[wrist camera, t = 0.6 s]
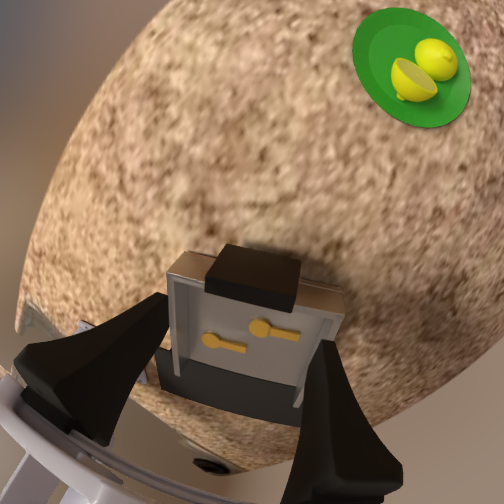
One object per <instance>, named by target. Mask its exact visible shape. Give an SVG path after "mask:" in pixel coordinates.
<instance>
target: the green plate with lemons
mask: <svg viewBox="0 0 504 504" xmlns="http://www.w3.org/2000/svg"><path fill="white" fill-rule="evenodd" d="M352 52H353V61H354V65H355V68H356V72H357V75H358V77H359V79H360V81H361V83H362V85H363V87H364V88H365V90H366V91H367V92H368V94H369V95H370V96H371V98H372V99H373V100H374V101H375V102H376V103H377V104H378V105H379V106H380V107H381V108H382V109H383V110H385V111H386V112H387V113H389V114H390V115H391V116H393V117H395V118H397V119H399V120H400V121H402V122H404V123H408V124H411V125H414V126H419V127H426V128H428V127H438V126H441V125H444V124H447V123H449V122H451V121H452V120H454V119H455V118H456V117H457V116H458V115H459V114H460V113H461V112H462V111H463V109H464V107H465V106H466V104H467V101H468V98H469V95H470V87H471V79H470V71H469V67H468V63H467V60H466V58H465V56H464V53H463V51H462V49H461V48H460V46H459V45H458V43H457V42H456V40H455V39H454V37H453V36H452V35H451V34H450V33H449V32H448V31H447V30H446V29H445V28H444V27H443V26H442V25H440V24H439V23H438V22H437V21H435V20H433V19H432V18H430V17H428V16H427V15H425V14H422V13H420V12H417V11H415V10H411V9H406V8H386V9H382V10H379V11H377V12H374V13H372V14H370V15H369V16H368V17H367V18H366V19H365V20H363V21H362V23H361V24H360V26H359V27H358V29H357V31H356V34H355V37H354V39H353V49H352Z"/></svg>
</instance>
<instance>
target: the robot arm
mask: <svg viewBox="0 0 504 504" xmlns="http://www.w3.org/2000/svg"><path fill="white" fill-rule="evenodd" d="M78 324H79V328H78V329H77V331H76V332H75V333H74V334H73V335H72V336H68V337H65V338H61V339H57V340H52V341H47V342H40V343H33V344H28V345H27V346H26V347H25V348H24V349H23V350H22V351H21V353H20V354H19V355H18V356H17V357H16V358H15V359H14V365H15V367H16V369H17V370H18V372H19V374H20V375H21V377H22V378H23V379H24V381H25V382H26V384H27V387H26V388H25V389H24V387H23V386H22V385H21V384H20V383H19V382H18V381H16V380H15V379H14V378H13V377H12V376H11V375H10V374H9V373H7V374H6V375H5V376H4V377H3V379H2V380H1V381H0V424H1V426H2V427H3V428H4V429H5V430H6V431H7V432H8V433H9V434H10V435H11V436H12V437H13V438H14V439H15V440H16V441H17V442H18V443H19V444H20V445H21V446H22V447H23V448H24V449H25V450H26V454H25V456H24V457H23V459H22V460H21V462H20V464H19V465H18V467H17V468H16V470H15V472H14V473H13V475H12V476H11V478H10V480H9V481H8V483H7V485H6V486H5V488H4V490H3V491H2V493H1V495H0V504H46V503H47V501H48V500H49V498H50V497H51V495H52V493H53V491H54V490H55V488H56V487H57V485H58V483H59V482H60V480H62V481H63V482H64V483H66V484H67V485H68V486H69V488H68V490H67V491H66V493H65V495H64V497H63V498H62V500H61V502H60V504H162V503H160V502H157V501H155V500H152V499H150V498H148V497H145V496H143V495H141V494H139V493H136V492H134V491H132V490H130V489H128V488H126V487H124V486H122V485H123V480H121V479H120V478H118V477H117V476H115V475H114V474H113V473H112V472H111V471H110V470H109V469H107V468H105V467H104V466H102V464H105V465H107V466H109V467H110V468H112V469H115V470H116V471H118V472H120V473H122V474H124V475H126V476H128V477H130V478H132V479H134V480H136V481H138V482H140V483H143V484H145V485H147V486H149V487H151V488H154V489H156V490H159V491H161V492H164V493H166V494H169V495H171V496H174V497H177V498H179V499H182V500H185V501H188V502H191V503H194V504H255V503H249V502H245V501H240V500H236V499H232V498H228V497H224V496H220V495H217V494H213V493H210V492H206V491H203V490H200V489H197V488H194V487H191V486H188V485H185V484H182V483H179V482H177V481H174V480H171V479H169V478H166V477H164V476H161V475H159V474H157V473H154V472H152V471H150V470H147V469H145V468H143V467H141V466H138V465H136V464H134V463H132V462H130V461H128V460H126V459H124V458H122V457H120V456H118V455H116V454H115V453H113V452H111V451H112V448H113V446H114V441H115V438H114V433H113V432H114V429H115V426H116V424H117V421H118V419H119V416H120V414H121V412H122V409H123V407H124V405H125V402H126V401H127V398H128V396H129V394H130V392H131V390H132V388H133V386H134V384H135V382H136V381H137V382H140V383H142V384H145V385H146V384H147V383H148V381H147V378H146V374H145V370H144V368H145V367H146V365H147V364H148V362H149V361H150V359H151V358H152V356H153V355H154V353H155V352H156V350H157V349H158V347H159V346H160V344H161V342H162V341H163V339H164V337H165V335H166V332H167V330H168V328H169V302H168V295H165V294H162V293H159V292H156V293H154V294H153V295H151V296H149V297H148V298H146V299H145V300H143V301H141V302H140V303H138V304H136V305H135V306H133V307H132V308H130V309H128V310H126V311H125V312H123V313H121V314H120V315H118V316H116V317H114V318H112V319H110V320H108V321H107V322H105V323H103V324H100V325H98V326H96V327H94V326H92V325H89V324H87V323H85V322H83V321H81V320H80V321H79V322H78ZM402 485H403V468H402V464H401V463H400V462H399V461H398V460H397V459H396V458H395V457H394V456H393V455H392V454H391V453H390V452H389V450H388V449H387V448H386V447H385V445H384V444H383V443H382V442H381V440H380V439H379V438H378V436H377V434H376V433H375V432H374V430H373V429H372V427H371V426H370V424H369V422H368V421H367V419H366V417H365V416H364V414H363V412H362V410H361V408H360V406H359V404H358V402H357V400H356V398H355V396H354V393H353V391H352V389H351V386H350V384H349V381H348V379H347V376H346V373H345V371H344V368H343V365H342V362H341V359H340V356H339V353H338V349H337V346H336V343H335V341H330V340H326V339H321V341H320V343H319V345H318V347H317V349H316V351H315V353H314V355H313V357H312V359H311V361H310V363H309V365H308V369H307V374H306V380H305V385H304V397H303V409H302V421H301V430H300V436H299V440H298V445H297V449H296V453H295V457H294V461H293V465H292V469H291V472H290V476H289V479H288V482H287V485H286V488H285V491H284V494H283V497H282V500H281V502H280V504H380V503H383V502H384V495H387V494H389V493H391V492H393V491H396V490H398V489H399V488H400V487H401V486H402Z"/></svg>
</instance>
